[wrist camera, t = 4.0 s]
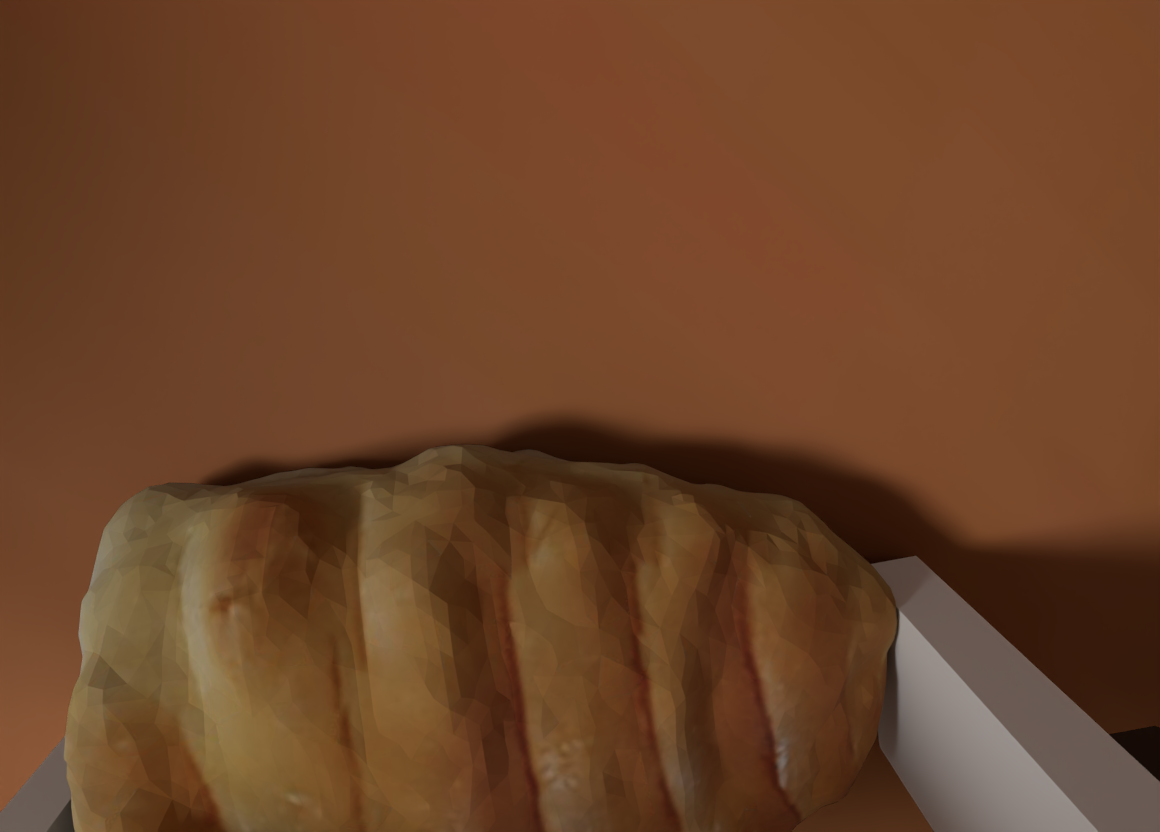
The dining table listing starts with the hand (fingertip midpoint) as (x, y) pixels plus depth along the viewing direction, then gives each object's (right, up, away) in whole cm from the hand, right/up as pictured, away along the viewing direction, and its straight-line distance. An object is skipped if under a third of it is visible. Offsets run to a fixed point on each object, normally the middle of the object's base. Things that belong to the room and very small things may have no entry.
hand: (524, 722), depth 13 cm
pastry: (-1, +1, 0) cm, 1 cm away
